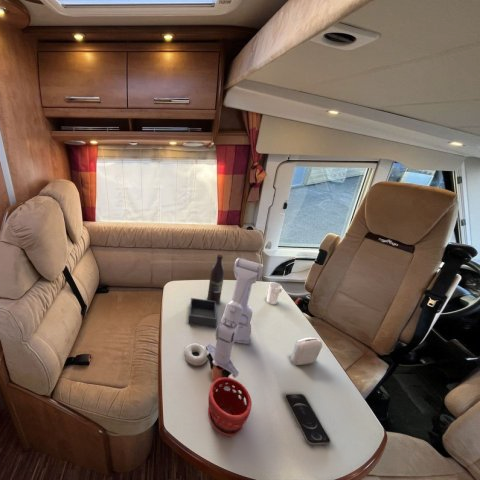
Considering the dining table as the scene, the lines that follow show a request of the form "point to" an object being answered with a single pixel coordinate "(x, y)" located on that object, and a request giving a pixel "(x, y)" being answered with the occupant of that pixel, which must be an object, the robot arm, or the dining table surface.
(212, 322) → the tote
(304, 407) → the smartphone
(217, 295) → the wine bottle
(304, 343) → the photo printer
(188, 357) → the donut
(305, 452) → the dining table surface
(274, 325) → the dining table surface
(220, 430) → the flower pot
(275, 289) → the cup
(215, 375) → the terracotta cup
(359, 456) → the dining table surface
